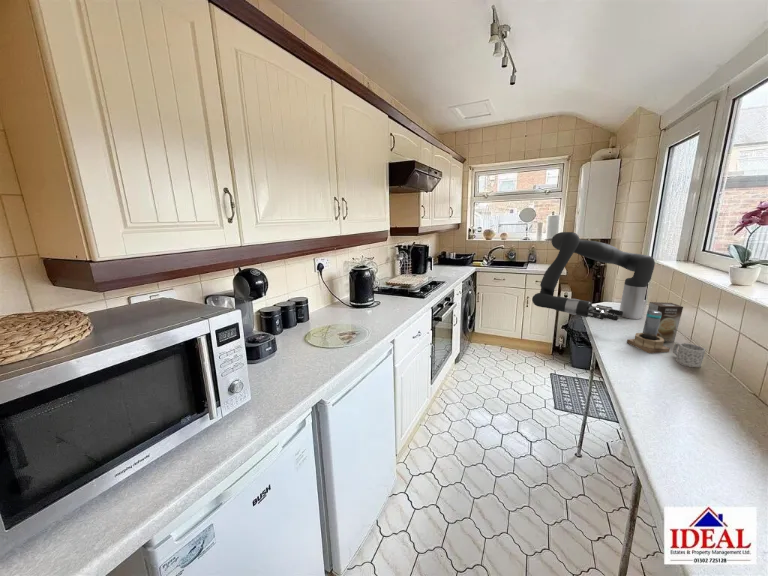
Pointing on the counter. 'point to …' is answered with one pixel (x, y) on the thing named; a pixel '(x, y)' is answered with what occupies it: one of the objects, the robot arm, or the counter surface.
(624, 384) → the counter surface
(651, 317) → the cylinder
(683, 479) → the counter surface
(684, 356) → the mug
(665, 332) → the coffee box
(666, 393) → the counter surface
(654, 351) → the dock
